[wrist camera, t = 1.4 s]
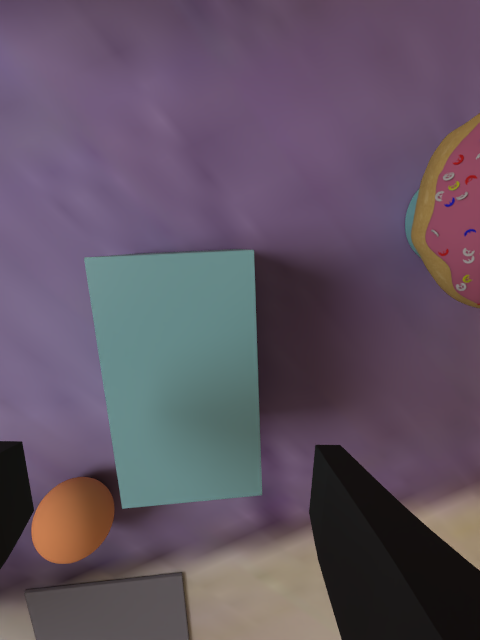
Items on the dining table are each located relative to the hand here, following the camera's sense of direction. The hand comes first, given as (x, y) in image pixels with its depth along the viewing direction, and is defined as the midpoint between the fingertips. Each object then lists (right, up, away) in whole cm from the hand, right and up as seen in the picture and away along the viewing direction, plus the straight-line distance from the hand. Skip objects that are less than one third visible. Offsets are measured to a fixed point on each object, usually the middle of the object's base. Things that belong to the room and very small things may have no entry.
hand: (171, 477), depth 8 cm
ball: (-7, -7, +9) cm, 14 cm away
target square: (-7, -18, +14) cm, 24 cm away
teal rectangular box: (-1, +3, +10) cm, 10 cm away
